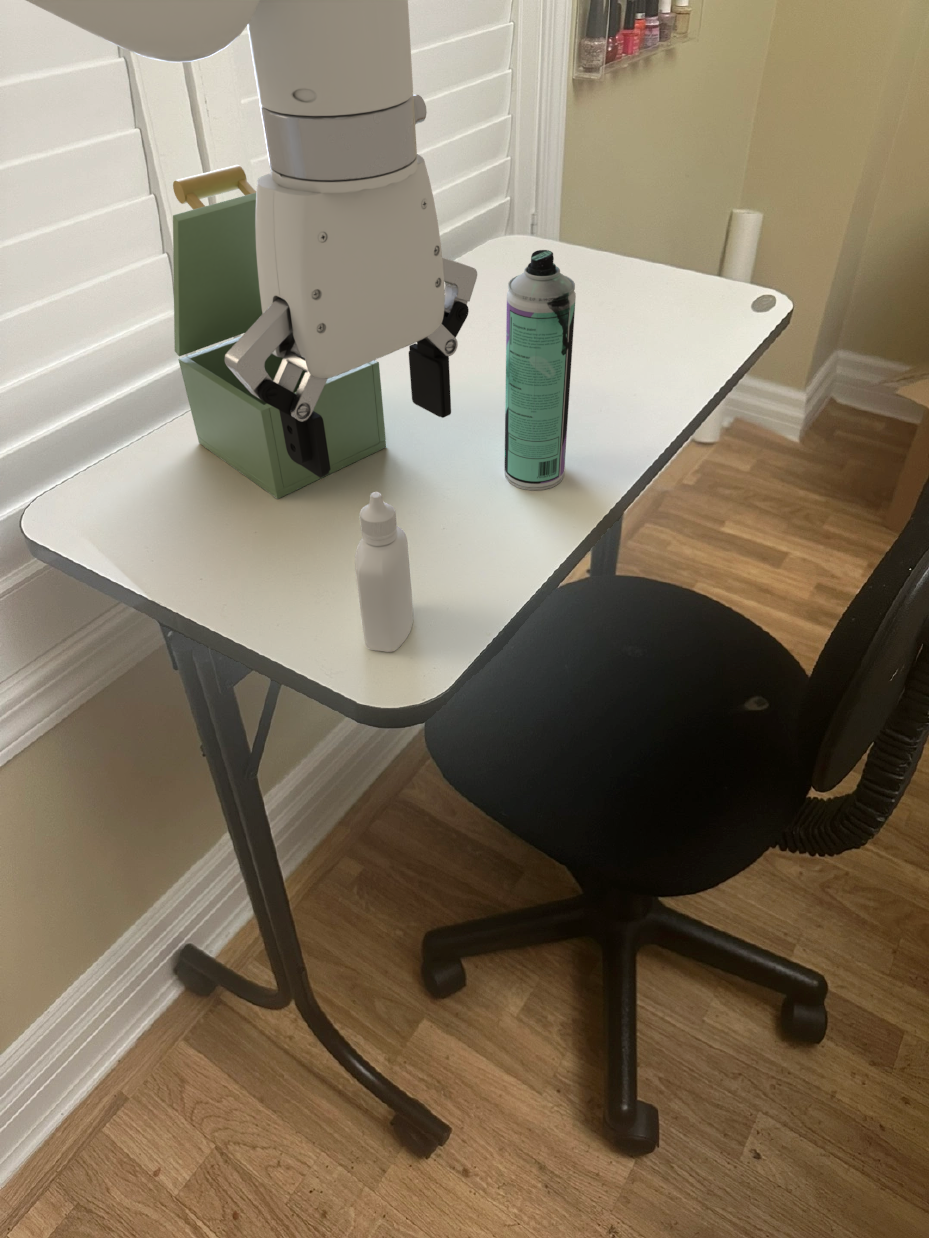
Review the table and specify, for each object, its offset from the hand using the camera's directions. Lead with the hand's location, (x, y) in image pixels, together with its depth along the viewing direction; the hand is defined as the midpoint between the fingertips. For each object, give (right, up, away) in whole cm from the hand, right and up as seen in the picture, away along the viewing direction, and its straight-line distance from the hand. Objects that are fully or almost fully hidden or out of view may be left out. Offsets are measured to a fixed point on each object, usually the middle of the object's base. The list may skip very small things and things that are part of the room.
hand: (374, 437), depth 57 cm
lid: (-14, +19, +22) cm, 32 cm away
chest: (-11, +5, +31) cm, 33 cm away
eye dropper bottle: (0, -12, +11) cm, 17 cm away
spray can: (+12, +2, +26) cm, 29 cm away
